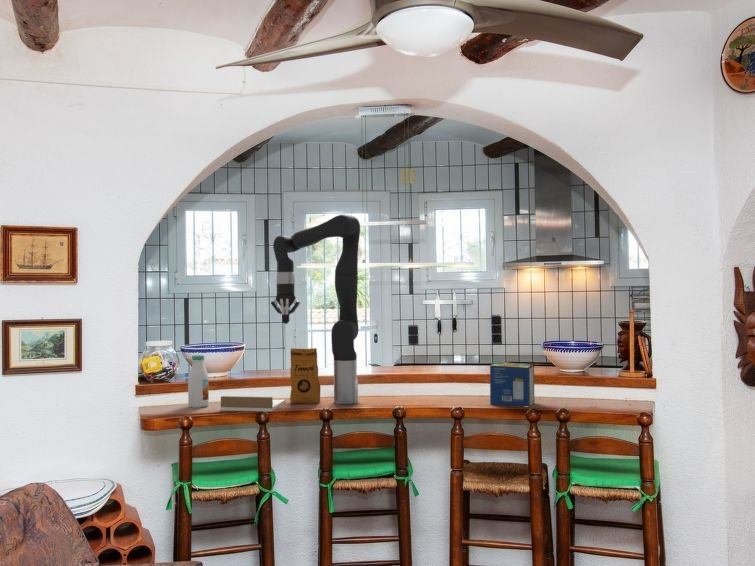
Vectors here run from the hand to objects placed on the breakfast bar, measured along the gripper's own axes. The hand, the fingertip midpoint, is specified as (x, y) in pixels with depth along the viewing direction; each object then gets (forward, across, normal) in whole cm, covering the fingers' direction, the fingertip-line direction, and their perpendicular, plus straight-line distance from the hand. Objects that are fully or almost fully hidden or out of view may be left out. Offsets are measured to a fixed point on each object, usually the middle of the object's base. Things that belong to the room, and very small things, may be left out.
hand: (285, 323), depth 278 cm
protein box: (+31, +94, -7) cm, 99 cm away
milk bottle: (+31, -28, -26) cm, 49 cm away
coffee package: (+31, +12, -14) cm, 36 cm away
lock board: (+31, -6, -24) cm, 40 cm away
